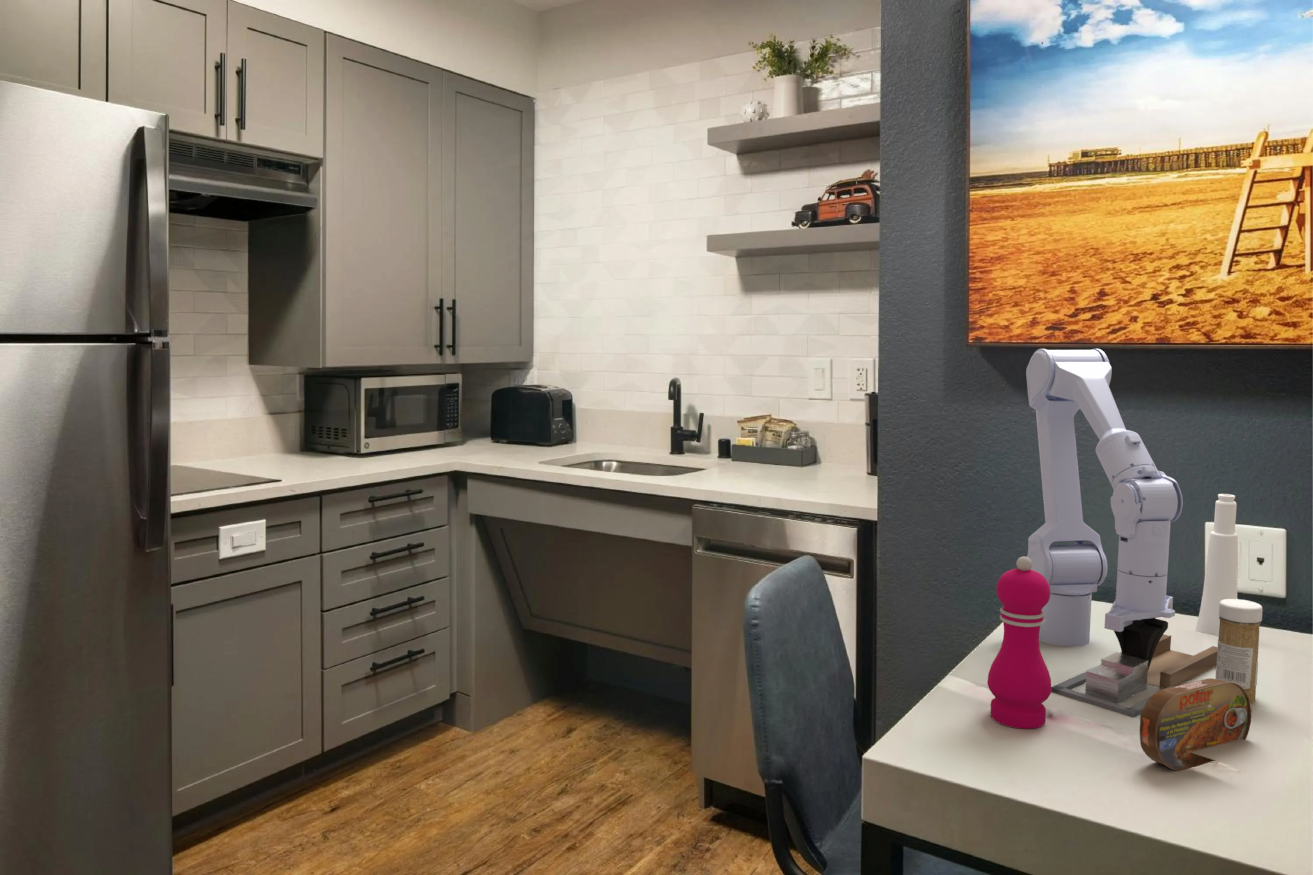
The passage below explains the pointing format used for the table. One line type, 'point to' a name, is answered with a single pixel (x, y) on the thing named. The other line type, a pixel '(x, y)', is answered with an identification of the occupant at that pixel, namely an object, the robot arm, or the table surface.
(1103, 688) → the light grey cube
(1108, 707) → the tray
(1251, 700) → the sprinkles bottle
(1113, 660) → the grey cube
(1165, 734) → the tin
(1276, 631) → the table surface
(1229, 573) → the cosmetic bottle
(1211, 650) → the slot board
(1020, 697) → the pepper mill
